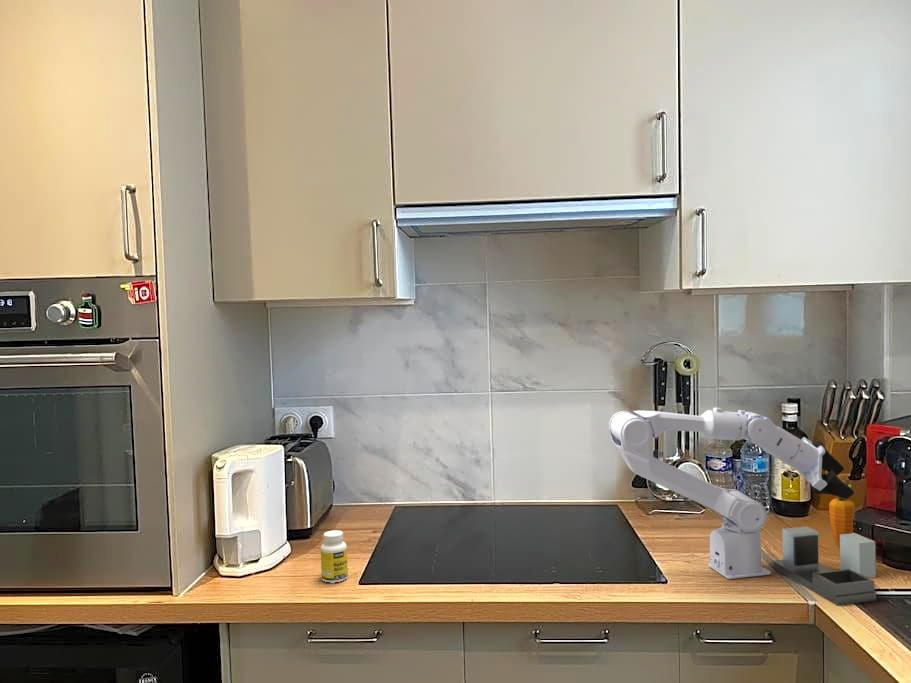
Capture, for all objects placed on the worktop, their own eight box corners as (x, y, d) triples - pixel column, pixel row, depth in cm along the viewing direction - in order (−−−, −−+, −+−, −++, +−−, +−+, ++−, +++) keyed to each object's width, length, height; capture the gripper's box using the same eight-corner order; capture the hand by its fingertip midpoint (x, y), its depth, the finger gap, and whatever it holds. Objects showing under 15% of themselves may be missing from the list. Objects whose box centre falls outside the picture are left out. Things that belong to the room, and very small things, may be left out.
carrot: (852, 548, 158) (851, 480, 157) (858, 556, 153) (857, 486, 152) (827, 547, 159) (826, 479, 158) (832, 554, 154) (831, 485, 154)
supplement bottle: (335, 586, 148) (333, 538, 147) (316, 581, 151) (314, 534, 150) (353, 577, 152) (351, 531, 152) (334, 572, 155) (332, 527, 155)
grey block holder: (836, 605, 130) (836, 558, 129) (772, 567, 148) (772, 527, 148) (876, 600, 131) (875, 554, 131) (807, 564, 150) (807, 523, 149)
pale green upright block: (859, 578, 141) (859, 543, 141) (840, 568, 147) (839, 534, 146) (877, 576, 142) (877, 541, 142) (857, 566, 147) (856, 532, 147)
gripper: (811, 458, 139) (870, 493, 139) (796, 416, 151) (850, 449, 152) (786, 481, 142) (843, 515, 143) (773, 438, 155) (826, 470, 156)
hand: (845, 482), depth 148 cm, fingers open, 7 cm apart
